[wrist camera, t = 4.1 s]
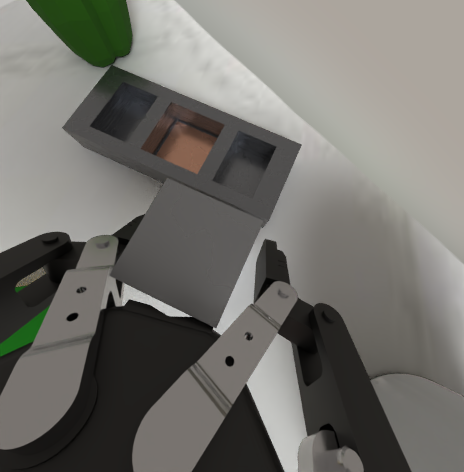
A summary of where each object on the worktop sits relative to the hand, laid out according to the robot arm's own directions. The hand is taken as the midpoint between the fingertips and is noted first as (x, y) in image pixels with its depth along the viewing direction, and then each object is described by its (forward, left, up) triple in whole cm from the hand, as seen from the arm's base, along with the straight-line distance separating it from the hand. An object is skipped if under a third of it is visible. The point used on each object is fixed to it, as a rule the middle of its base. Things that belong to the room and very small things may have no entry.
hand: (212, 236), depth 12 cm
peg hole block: (-7, +7, -4) cm, 11 cm away
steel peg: (0, -2, -5) cm, 5 cm away
